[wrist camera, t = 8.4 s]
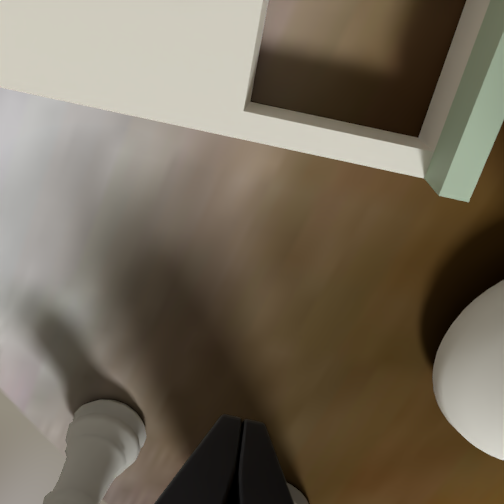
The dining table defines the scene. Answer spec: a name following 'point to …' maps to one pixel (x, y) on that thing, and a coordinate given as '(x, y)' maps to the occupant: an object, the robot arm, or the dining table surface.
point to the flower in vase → (475, 372)
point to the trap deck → (247, 80)
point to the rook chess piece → (97, 451)
